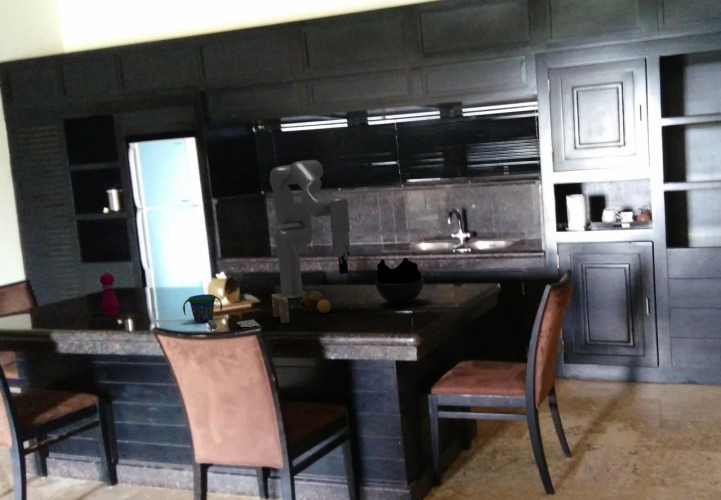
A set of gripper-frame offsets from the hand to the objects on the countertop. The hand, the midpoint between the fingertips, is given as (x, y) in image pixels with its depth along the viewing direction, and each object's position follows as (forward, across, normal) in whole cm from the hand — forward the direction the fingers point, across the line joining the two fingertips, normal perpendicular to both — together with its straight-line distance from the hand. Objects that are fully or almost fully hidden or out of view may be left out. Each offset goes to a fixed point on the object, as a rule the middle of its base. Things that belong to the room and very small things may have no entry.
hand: (343, 273), depth 310 cm
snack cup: (+15, -18, -56) cm, 60 cm away
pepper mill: (+15, -60, -90) cm, 110 cm away
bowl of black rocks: (+15, +4, +22) cm, 28 cm away
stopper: (+15, -2, -54) cm, 57 cm away
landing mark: (+15, 0, -44) cm, 46 cm away
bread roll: (+15, -19, -9) cm, 26 cm away
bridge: (+15, 0, -28) cm, 31 cm away
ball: (+12, 0, -10) cm, 16 cm away
